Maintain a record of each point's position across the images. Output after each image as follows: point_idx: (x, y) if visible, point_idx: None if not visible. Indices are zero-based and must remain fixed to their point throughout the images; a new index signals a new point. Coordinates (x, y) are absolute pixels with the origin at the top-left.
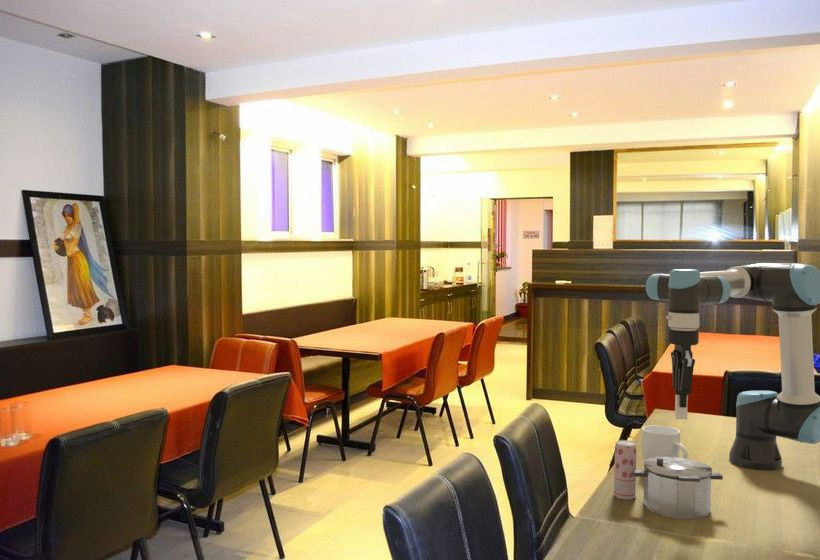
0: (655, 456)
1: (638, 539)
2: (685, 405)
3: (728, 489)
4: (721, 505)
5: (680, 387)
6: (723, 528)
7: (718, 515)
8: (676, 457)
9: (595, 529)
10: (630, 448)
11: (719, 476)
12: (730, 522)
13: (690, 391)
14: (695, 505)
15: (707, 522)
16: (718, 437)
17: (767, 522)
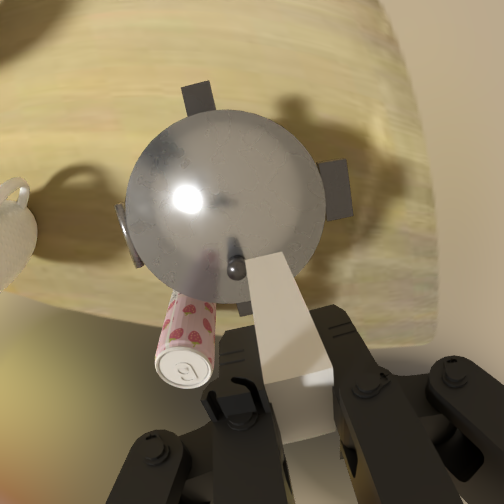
0: (25, 251)
1: (398, 259)
2: (346, 318)
3: (69, 84)
4: (176, 93)
5: (444, 462)
6: (319, 105)
7: (245, 103)
8: (126, 215)
9: (370, 319)
10: (208, 354)
11: (210, 89)
12: (280, 85)
13: (480, 372)
14: None
15: (296, 131)
16: None
17: (255, 17)
